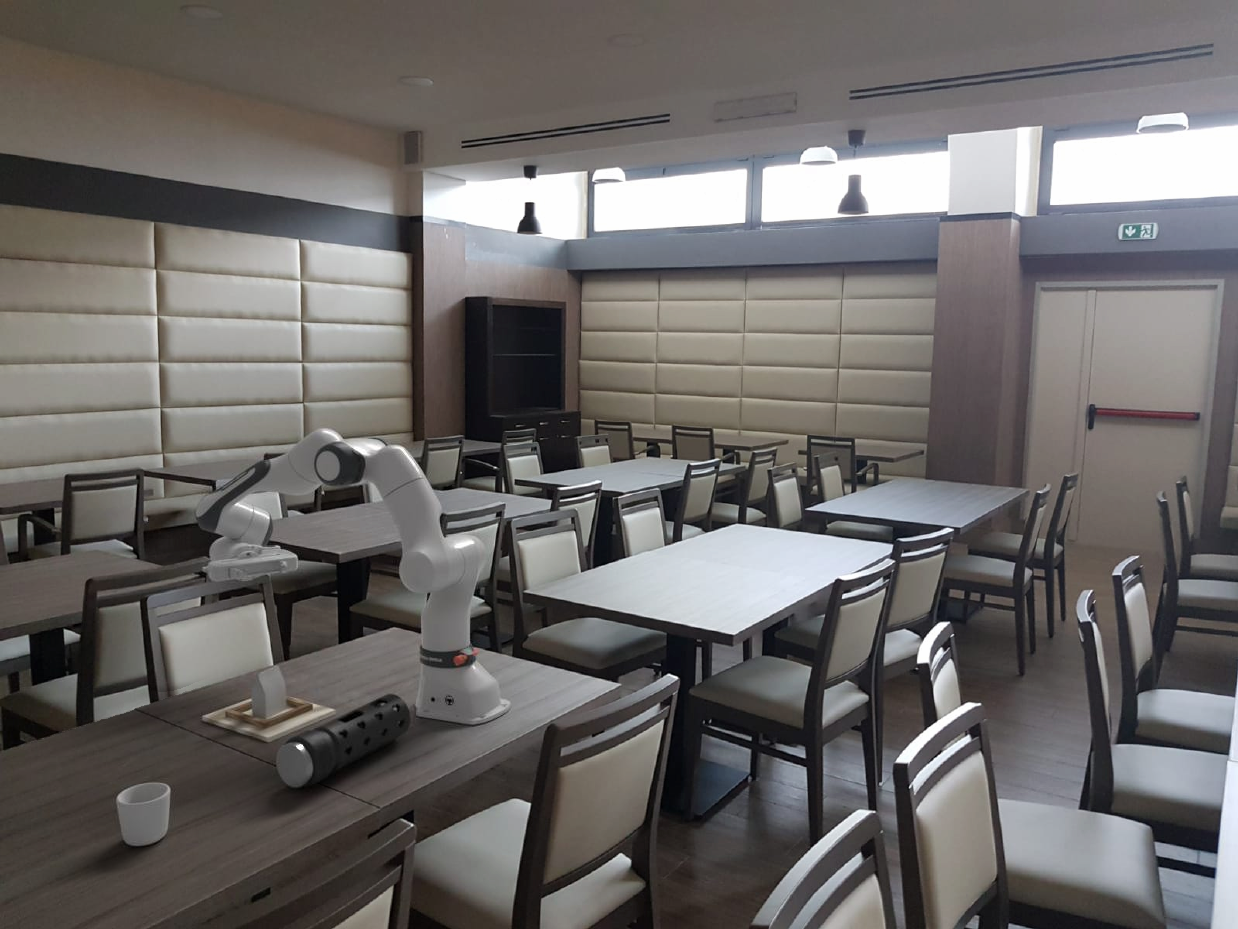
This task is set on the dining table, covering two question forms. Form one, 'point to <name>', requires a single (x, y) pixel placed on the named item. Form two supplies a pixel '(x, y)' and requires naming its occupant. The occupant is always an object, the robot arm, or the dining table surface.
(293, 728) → the holder
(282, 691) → the tea bag
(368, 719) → the muzzle brake
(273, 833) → the dining table surface
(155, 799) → the cup
